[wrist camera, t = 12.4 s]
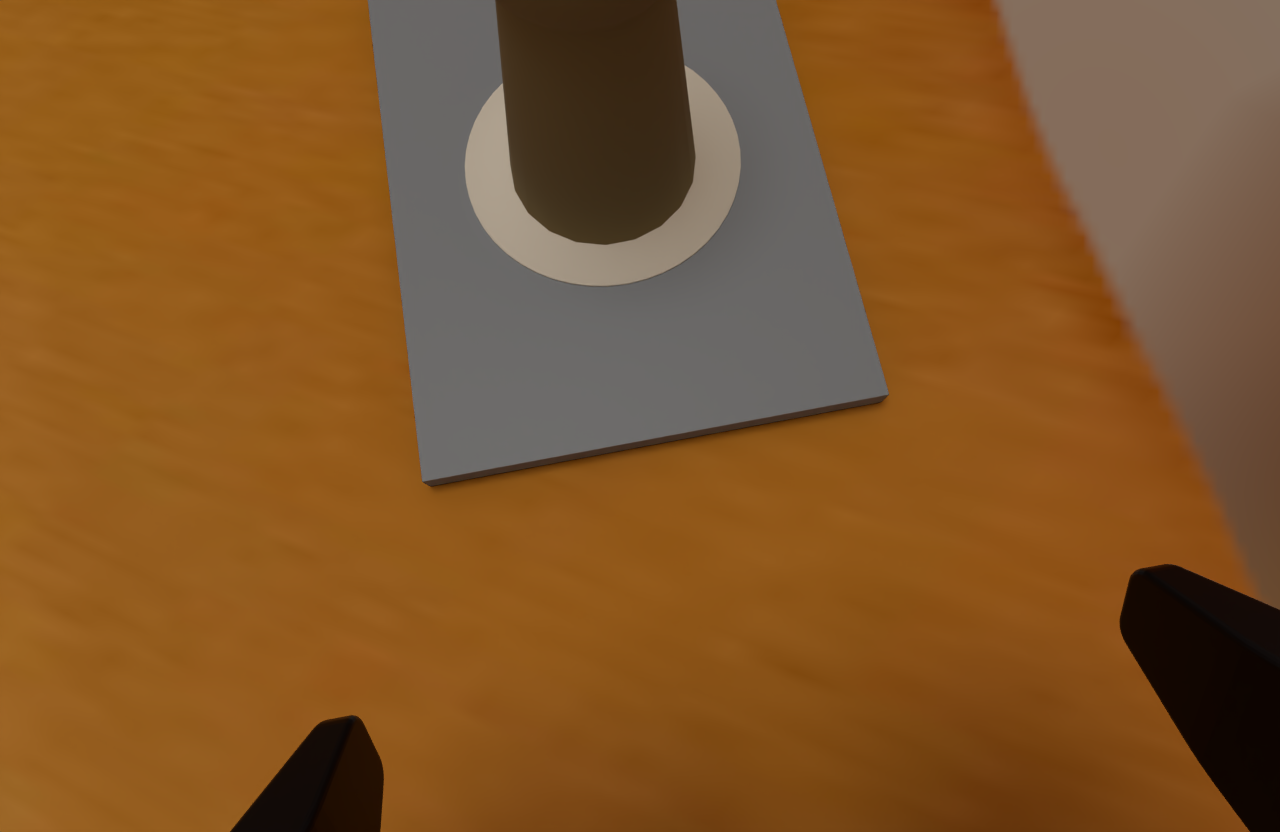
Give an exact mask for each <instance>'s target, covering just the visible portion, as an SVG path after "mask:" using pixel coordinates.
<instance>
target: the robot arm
mask: <svg viewBox="0 0 1280 832" xmlns="http://www.w3.org/2000/svg"><path fill="white" fill-rule="evenodd" d="M1120 630H1121V634H1122V636H1123V639H1124V641H1125V643H1126V645H1127V646H1128V648H1129V649H1130V651H1131V653H1132V654H1133V656H1134V658H1135V659H1136V661H1137V663H1138V664H1139V666H1140V667H1141V669H1142V671H1143V672H1144V674H1145V676H1146V677H1147V679H1148V681H1149V682H1150V684H1151V686H1152V687H1153V689H1154V690H1155V692H1156V694H1157V695H1158V697H1159V699H1160V700H1161V702H1162V704H1163V705H1164V707H1165V708H1166V710H1167V712H1168V713H1169V715H1170V717H1171V718H1172V720H1173V722H1174V723H1175V725H1176V727H1177V728H1178V730H1179V731H1180V733H1181V735H1182V736H1183V738H1184V740H1185V741H1186V743H1187V744H1188V746H1189V748H1190V749H1191V751H1192V752H1193V754H1194V755H1195V757H1196V758H1197V760H1198V761H1199V763H1200V764H1201V766H1202V767H1203V769H1204V770H1205V771H1206V773H1207V774H1208V776H1209V777H1210V778H1211V780H1212V781H1213V783H1214V784H1215V785H1216V787H1217V788H1218V789H1219V791H1220V792H1221V793H1222V795H1223V796H1224V797H1225V799H1226V800H1227V802H1228V803H1229V804H1230V806H1231V807H1232V808H1233V810H1234V811H1235V812H1236V814H1237V815H1238V816H1239V818H1240V819H1241V820H1242V822H1243V823H1244V824H1245V826H1246V827H1247V828H1248V830H1249V831H1250V832H1280V610H1279V609H1277V608H1274V607H1272V606H1270V605H1268V604H1265V603H1263V602H1261V601H1258V600H1256V599H1254V598H1251V597H1249V596H1247V595H1244V594H1242V593H1240V592H1237V591H1235V590H1233V589H1230V588H1228V587H1226V586H1223V585H1221V584H1219V583H1217V582H1214V581H1212V580H1210V579H1207V578H1205V577H1203V576H1200V575H1198V574H1196V573H1193V572H1191V571H1189V570H1186V569H1184V568H1182V567H1179V566H1176V565H1172V564H1164V565H1158V566H1152V567H1147V568H1142V569H1138V570H1136V571H1135V572H1134V573H1133V574H1132V575H1131V577H1130V579H1129V583H1128V587H1127V591H1126V595H1125V599H1124V603H1123V607H1122V611H1121V615H1120ZM383 785H384V773H383V766H382V762H381V759H380V757H379V755H378V752H377V750H376V748H375V746H374V744H373V742H372V740H371V738H370V736H369V734H368V732H367V730H366V727H365V725H364V723H363V722H362V720H361V719H360V718H359V717H357V716H353V715H350V716H345V717H340V718H334V719H329V720H325V721H322V722H320V723H319V724H318V725H317V726H316V727H315V728H314V729H313V730H312V731H311V732H310V734H309V735H308V736H307V737H306V739H305V740H304V741H303V742H302V743H301V745H300V746H299V747H298V748H297V750H296V751H295V752H294V753H293V755H292V756H291V757H290V758H289V760H288V761H287V762H286V763H285V764H284V766H283V767H282V768H281V769H280V771H279V772H278V773H277V774H276V776H275V777H274V778H273V779H272V781H271V782H270V783H269V784H268V785H267V787H266V788H265V789H264V790H263V792H262V793H261V794H260V795H259V797H258V798H257V799H256V800H255V802H254V803H253V804H252V805H251V806H250V808H249V809H248V810H247V811H246V813H245V814H244V815H243V816H242V818H241V819H240V820H239V821H238V823H237V824H236V825H235V826H234V827H233V829H232V830H231V831H230V832H380V829H381V814H382V800H383Z"/></svg>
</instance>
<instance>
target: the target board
mask: <svg viewBox="0 0 1280 832" xmlns="http://www.w3.org/2000/svg"><path fill="white" fill-rule="evenodd" d="M368 5H369V14H370V23H371V32H372V41H373V50H374V58H375V67H376V76H377V85H378V94H379V103H380V112H381V120H382V129H383V138H384V147H385V156H386V165H387V174H388V182H389V191H390V200H391V209H392V218H393V227H394V235H395V244H396V253H397V262H398V271H399V280H400V289H401V297H402V306H403V315H404V324H405V333H406V342H407V351H408V359H409V368H410V377H411V386H412V395H413V404H414V413H415V421H416V430H417V439H418V448H419V457H420V466H421V474H422V482H424V483H425V484H427V485H429V486H435V485H440V484H445V483H451V482H456V481H461V480H467V479H472V478H477V477H483V476H488V475H493V474H499V473H504V472H509V471H515V470H520V469H525V468H531V467H536V466H542V465H547V464H552V463H558V462H563V461H568V460H574V459H579V458H584V457H590V456H595V455H600V454H606V453H611V452H616V451H622V450H627V449H632V448H638V447H643V446H648V445H654V444H659V443H665V442H670V441H675V440H681V439H686V438H691V437H697V436H702V435H707V434H713V433H718V432H723V431H729V430H734V429H739V428H745V427H750V426H755V425H761V424H766V423H771V422H777V421H782V420H787V419H793V418H798V417H804V416H809V415H814V414H820V413H825V412H830V411H836V410H841V409H846V408H852V407H857V406H862V405H868V404H873V403H878V402H882V401H883V400H884V399H885V398H886V397H887V396H888V395H889V393H888V389H887V386H886V382H885V379H884V375H883V372H882V368H881V365H880V361H879V358H878V354H877V351H876V347H875V344H874V340H873V337H872V333H871V330H870V326H869V323H868V319H867V316H866V313H865V309H864V306H863V302H862V299H861V295H860V292H859V288H858V285H857V281H856V278H855V274H854V271H853V267H852V264H851V260H850V257H849V253H848V250H847V246H846V243H845V240H844V236H843V233H842V229H841V226H840V222H839V219H838V215H837V212H836V208H835V205H834V201H833V198H832V194H831V191H830V187H829V184H828V180H827V177H826V173H825V170H824V166H823V163H822V160H821V156H820V153H819V149H818V146H817V142H816V139H815V135H814V132H813V128H812V125H811V121H810V118H809V114H808V111H807V107H806V104H805V100H804V97H803V93H802V90H801V86H800V83H799V80H798V76H797V73H796V69H795V66H794V62H793V59H792V55H791V52H790V48H789V45H788V41H787V38H786V34H785V31H784V27H783V24H782V20H781V17H780V13H779V10H778V7H777V3H776V0H677V8H678V16H679V25H680V33H681V41H682V49H683V57H684V65H685V73H686V82H687V90H688V98H689V106H690V114H691V122H692V130H693V139H694V147H695V155H696V159H695V168H694V177H693V183H692V185H691V187H690V189H689V191H688V193H687V195H686V197H685V199H684V201H683V203H682V205H681V207H680V208H679V209H678V210H677V211H676V212H675V213H674V214H673V215H672V216H671V217H670V218H669V219H668V220H667V221H666V222H665V223H664V224H663V225H662V226H660V227H658V228H656V229H655V230H653V231H651V232H649V233H647V234H645V235H643V236H641V237H639V238H637V239H635V240H630V241H625V242H619V243H614V244H609V245H600V244H590V243H579V242H574V241H572V240H570V239H567V238H565V237H562V236H560V235H557V234H555V233H553V232H550V231H549V230H547V229H546V228H545V227H544V226H543V225H541V224H540V223H539V222H538V221H537V220H536V219H534V218H533V217H532V216H531V215H530V214H528V212H527V210H526V209H525V207H524V205H523V204H522V202H521V200H520V199H519V197H518V195H517V193H516V192H515V189H514V183H513V178H512V172H511V166H510V156H509V146H508V135H507V124H506V113H505V102H504V91H503V80H502V69H501V58H500V47H499V37H498V26H497V15H496V4H495V0H368Z"/></svg>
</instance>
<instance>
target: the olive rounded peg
mask: <svg viewBox="0 0 1280 832" xmlns="http://www.w3.org/2000/svg"><path fill="white" fill-rule="evenodd" d="M495 4H496V15H497V26H498V37H499V47H500V58H501V69H502V80H503V91H504V102H505V113H506V124H507V135H508V146H509V156H510V166H511V172H512V178H513V183H514V189H515V192H516V193H517V195H518V197H519V199H520V200H521V202H522V204H523V205H524V207H525V209H526V210H527V212H528V214H530V215H531V216H532V217H533V218H534V219H536V220H537V221H538V222H539V223H540V224H541V225H543V226H544V227H545V228H546V229H547V230H549V231H550V232H553V233H555V234H557V235H560V236H562V237H565V238H567V239H570V240H572V241H574V242H579V243H590V244H600V245H609V244H614V243H619V242H625V241H630V240H635V239H637V238H639V237H641V236H643V235H645V234H647V233H649V232H651V231H653V230H655V229H656V228H658V227H660V226H662V225H663V224H664V223H665V222H666V221H667V220H668V219H669V218H670V217H671V216H672V215H673V214H674V213H675V212H676V211H677V210H678V209H679V208H680V207H681V205H682V203H683V201H684V199H685V197H686V195H687V193H688V191H689V189H690V187H691V185H692V183H693V177H694V168H695V159H696V155H695V147H694V139H693V130H692V122H691V114H690V106H689V98H688V90H687V82H686V73H685V65H684V57H683V49H682V41H681V33H680V25H679V16H678V8H677V0H495Z"/></svg>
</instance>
